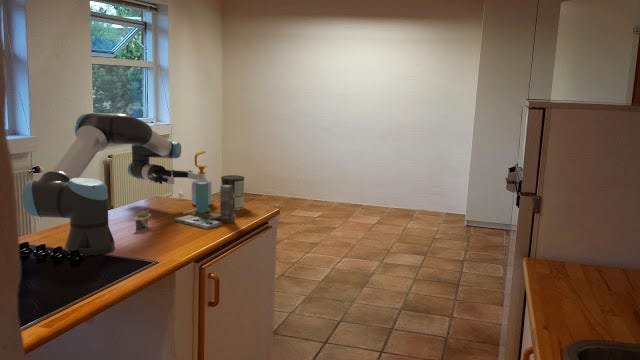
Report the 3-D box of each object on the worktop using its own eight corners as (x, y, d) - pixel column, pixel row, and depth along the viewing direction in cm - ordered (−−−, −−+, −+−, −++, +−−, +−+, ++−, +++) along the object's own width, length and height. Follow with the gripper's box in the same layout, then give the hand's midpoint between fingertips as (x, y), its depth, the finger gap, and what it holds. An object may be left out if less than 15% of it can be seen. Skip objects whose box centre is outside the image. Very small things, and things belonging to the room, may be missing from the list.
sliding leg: (188, 216, 228) (187, 186, 226) (179, 214, 231) (179, 185, 229) (210, 211, 238) (210, 183, 236) (202, 209, 241) (202, 181, 239)
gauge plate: (207, 229, 218) (207, 225, 217) (174, 221, 229) (174, 217, 228) (222, 225, 224) (222, 222, 224) (189, 217, 235) (189, 214, 235)
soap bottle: (213, 205, 260) (213, 152, 256) (193, 206, 257) (193, 152, 253) (209, 201, 268) (209, 149, 264) (190, 202, 265) (189, 150, 261)
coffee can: (222, 210, 250) (222, 179, 248) (219, 205, 260) (219, 175, 257) (246, 209, 253) (246, 178, 251) (242, 205, 263) (242, 175, 260)
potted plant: (167, 224, 226) (166, 207, 224) (148, 235, 208) (147, 218, 207) (138, 222, 227) (137, 206, 226) (117, 233, 209) (116, 216, 208)
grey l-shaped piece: (213, 227, 220) (213, 189, 218) (180, 219, 231) (180, 183, 229) (235, 222, 230) (235, 185, 228) (203, 214, 241) (203, 180, 239)
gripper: (176, 177, 264) (208, 183, 252) (130, 184, 244) (162, 191, 232) (176, 161, 263) (208, 167, 251) (130, 167, 243) (162, 173, 231)
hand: (186, 178), depth 241 cm, fingers open, 13 cm apart
